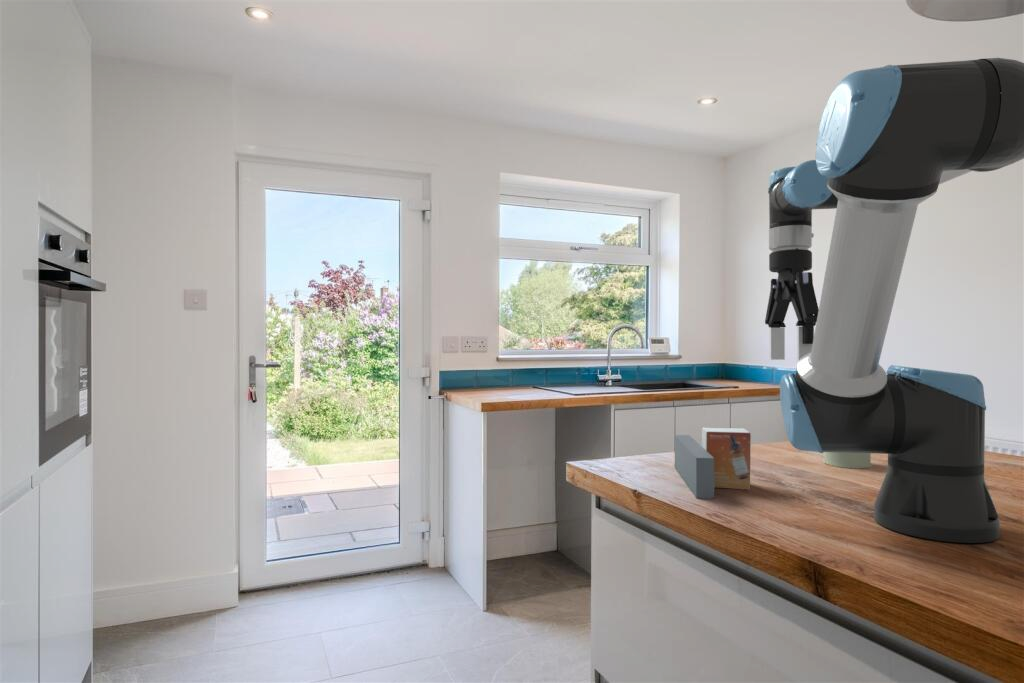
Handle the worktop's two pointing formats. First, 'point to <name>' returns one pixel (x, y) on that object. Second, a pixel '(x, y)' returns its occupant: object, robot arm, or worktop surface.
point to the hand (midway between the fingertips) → (790, 361)
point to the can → (848, 459)
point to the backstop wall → (694, 466)
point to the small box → (729, 456)
